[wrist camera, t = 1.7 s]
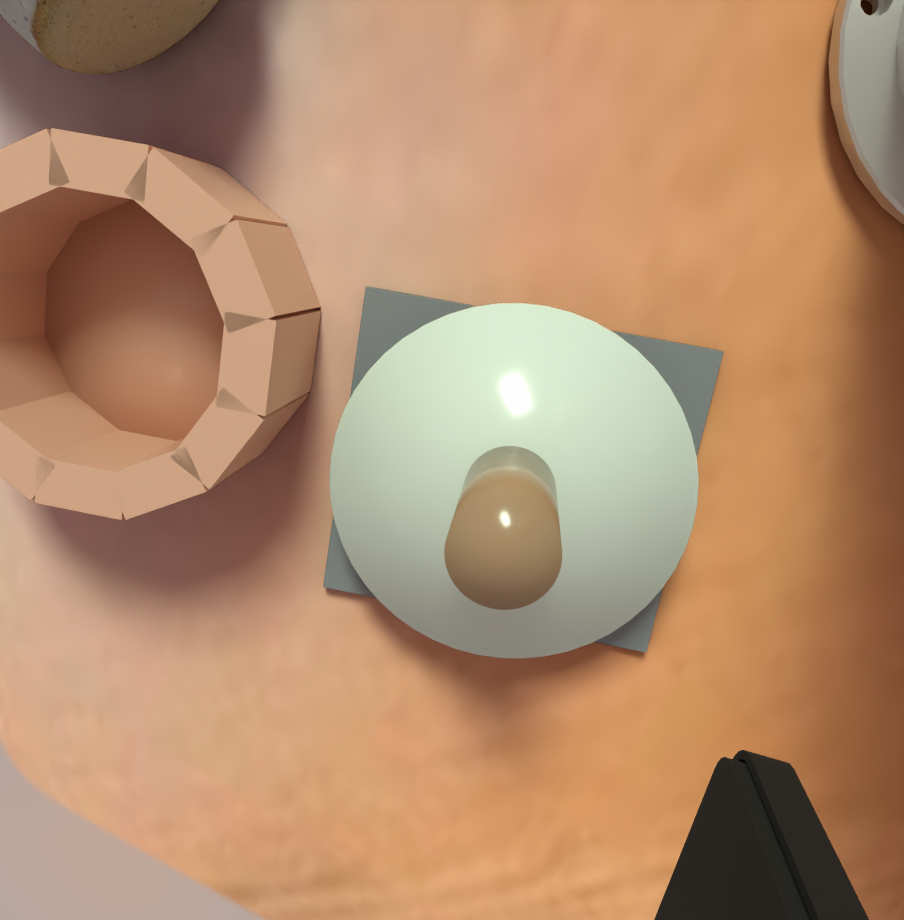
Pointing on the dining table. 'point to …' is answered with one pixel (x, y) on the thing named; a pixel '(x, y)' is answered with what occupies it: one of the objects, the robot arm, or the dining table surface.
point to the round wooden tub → (141, 324)
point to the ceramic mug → (103, 29)
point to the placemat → (405, 313)
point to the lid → (514, 480)
